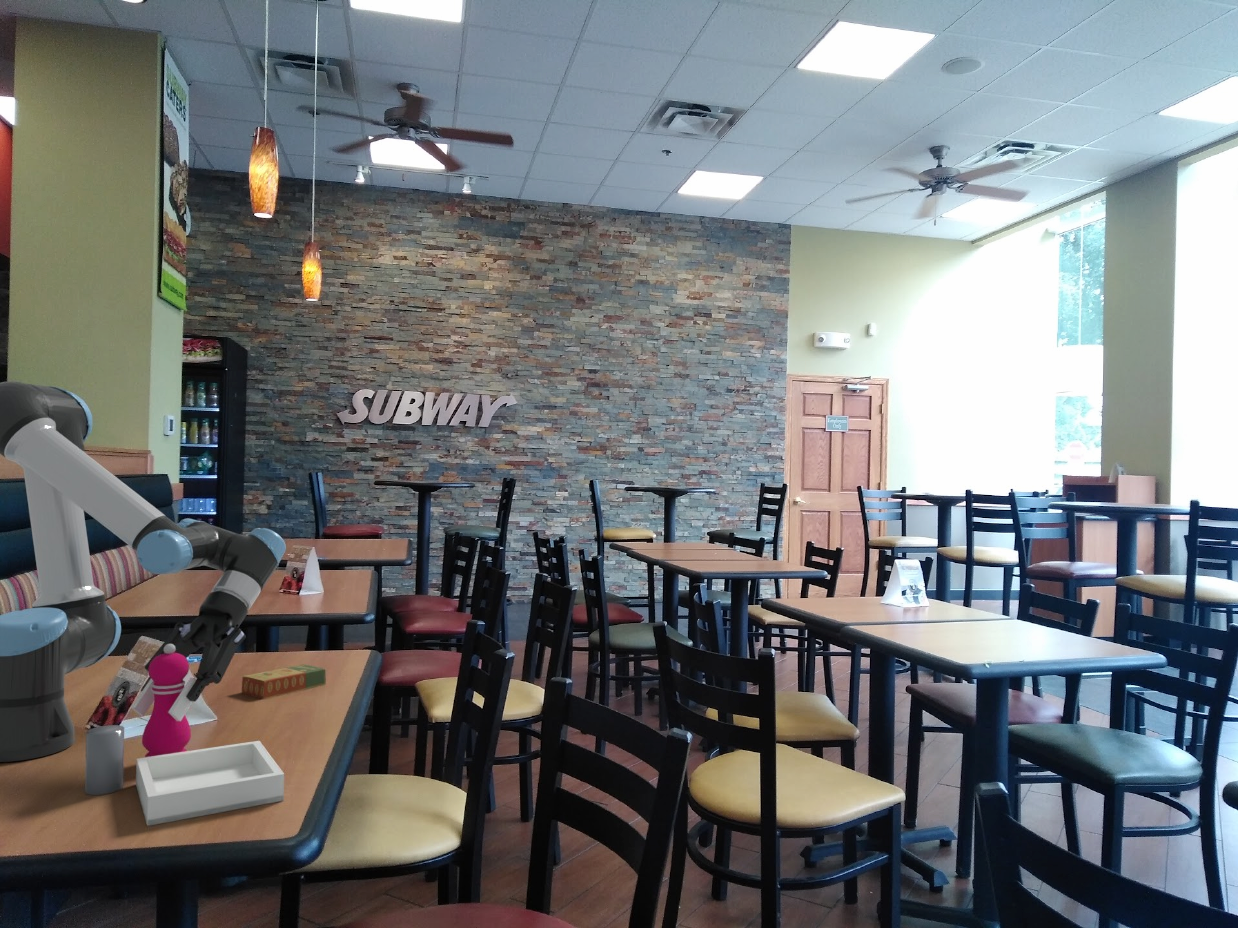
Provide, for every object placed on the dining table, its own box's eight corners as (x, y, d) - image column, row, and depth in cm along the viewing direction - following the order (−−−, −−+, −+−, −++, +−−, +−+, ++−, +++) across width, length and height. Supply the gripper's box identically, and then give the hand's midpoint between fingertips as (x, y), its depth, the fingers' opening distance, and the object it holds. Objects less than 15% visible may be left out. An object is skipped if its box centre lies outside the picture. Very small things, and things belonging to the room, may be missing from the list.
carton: (240, 694, 186) (241, 674, 186) (303, 680, 199) (303, 662, 199) (263, 700, 181) (264, 680, 181) (326, 685, 195) (326, 667, 195)
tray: (147, 825, 117) (148, 796, 117) (135, 784, 132) (136, 758, 132) (283, 800, 127) (284, 773, 127) (258, 764, 142) (259, 740, 142)
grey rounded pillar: (84, 797, 126) (86, 737, 126) (85, 785, 131) (86, 727, 131) (123, 791, 129) (124, 732, 129) (122, 779, 133) (123, 723, 133)
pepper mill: (175, 771, 138) (179, 648, 138) (131, 770, 138) (135, 647, 138) (198, 756, 145) (202, 640, 145) (156, 755, 145) (160, 638, 145)
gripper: (284, 617, 155) (216, 732, 139) (195, 610, 160) (120, 719, 144) (265, 592, 150) (193, 708, 134) (174, 585, 155) (94, 696, 139)
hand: (155, 714), depth 139 cm, fingers open, 7 cm apart
